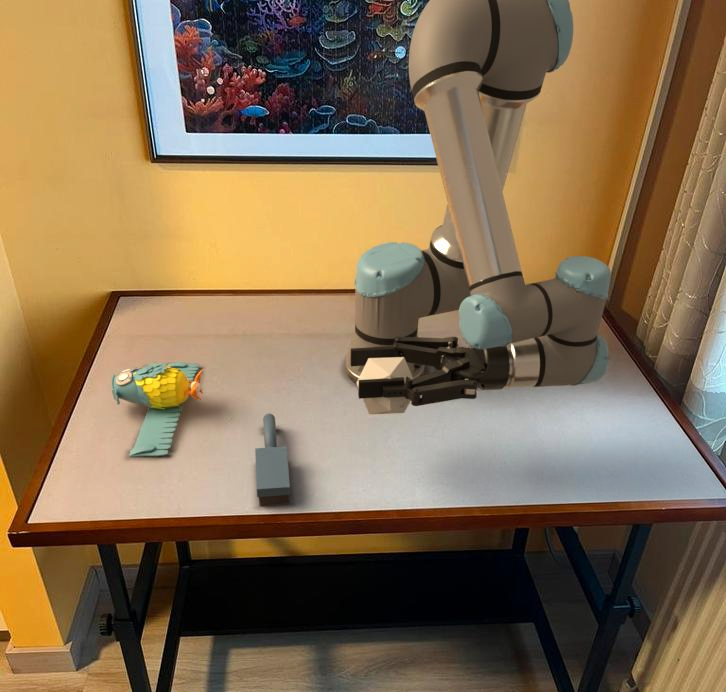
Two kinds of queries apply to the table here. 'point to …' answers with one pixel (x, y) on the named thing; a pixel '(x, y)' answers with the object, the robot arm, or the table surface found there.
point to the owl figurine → (157, 401)
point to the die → (389, 370)
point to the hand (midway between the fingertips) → (354, 372)
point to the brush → (272, 468)
